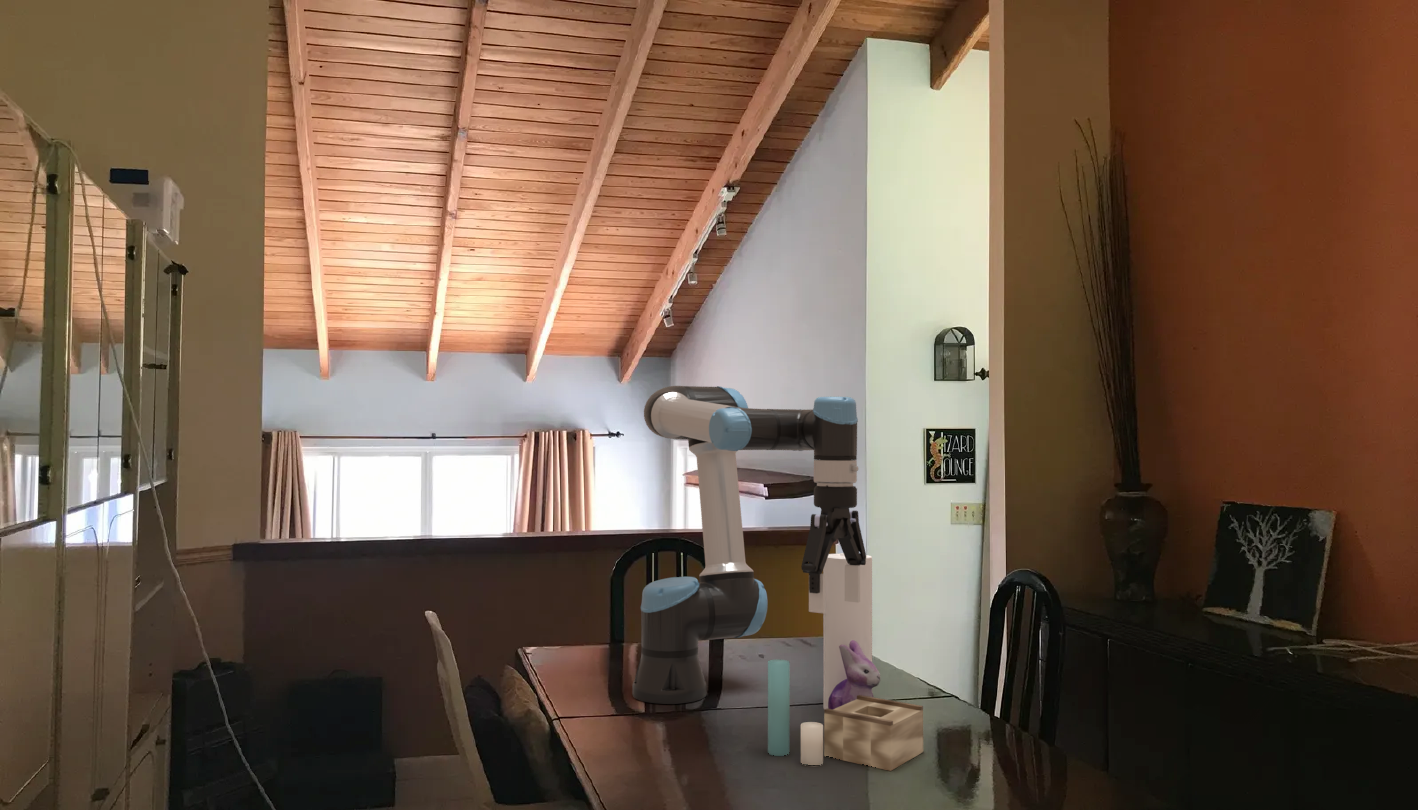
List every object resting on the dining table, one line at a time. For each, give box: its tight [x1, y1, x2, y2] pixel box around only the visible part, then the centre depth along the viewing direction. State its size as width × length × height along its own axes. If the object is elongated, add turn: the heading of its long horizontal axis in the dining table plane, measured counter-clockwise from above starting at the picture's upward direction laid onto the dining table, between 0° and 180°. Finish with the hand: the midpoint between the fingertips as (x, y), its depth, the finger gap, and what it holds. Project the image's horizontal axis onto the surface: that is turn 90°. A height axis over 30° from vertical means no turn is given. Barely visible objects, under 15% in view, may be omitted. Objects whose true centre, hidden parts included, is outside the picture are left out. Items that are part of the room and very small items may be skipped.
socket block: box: [823, 695, 924, 772], centre depth 163 cm, size 12×12×8 cm
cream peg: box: [800, 721, 824, 766], centre depth 159 cm, size 4×4×6 cm
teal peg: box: [767, 658, 791, 757], centre depth 164 cm, size 4×4×15 cm
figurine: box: [828, 640, 881, 710], centre depth 181 cm, size 9×10×15 cm
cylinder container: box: [822, 552, 873, 710], centre depth 191 cm, size 9×9×30 cm
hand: (835, 607), depth 171 cm, fingers open, 13 cm apart
